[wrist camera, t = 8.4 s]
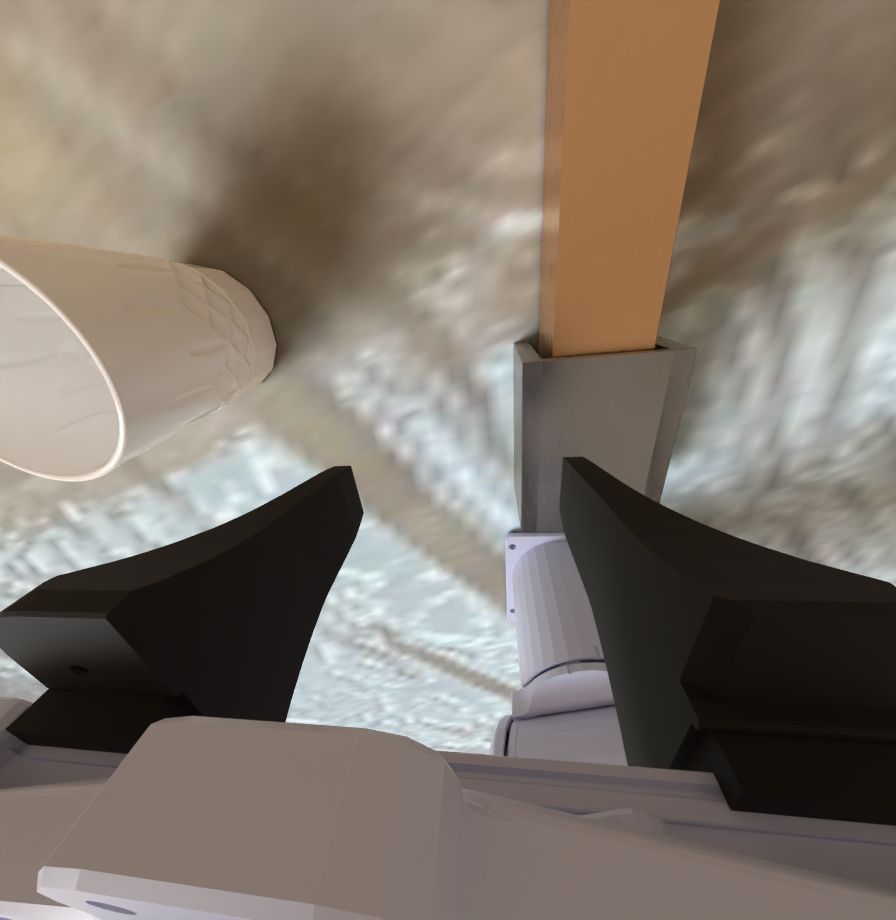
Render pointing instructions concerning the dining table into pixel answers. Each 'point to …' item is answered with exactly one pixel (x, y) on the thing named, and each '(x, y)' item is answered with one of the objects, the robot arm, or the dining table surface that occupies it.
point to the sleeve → (595, 421)
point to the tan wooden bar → (616, 165)
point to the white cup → (116, 353)
